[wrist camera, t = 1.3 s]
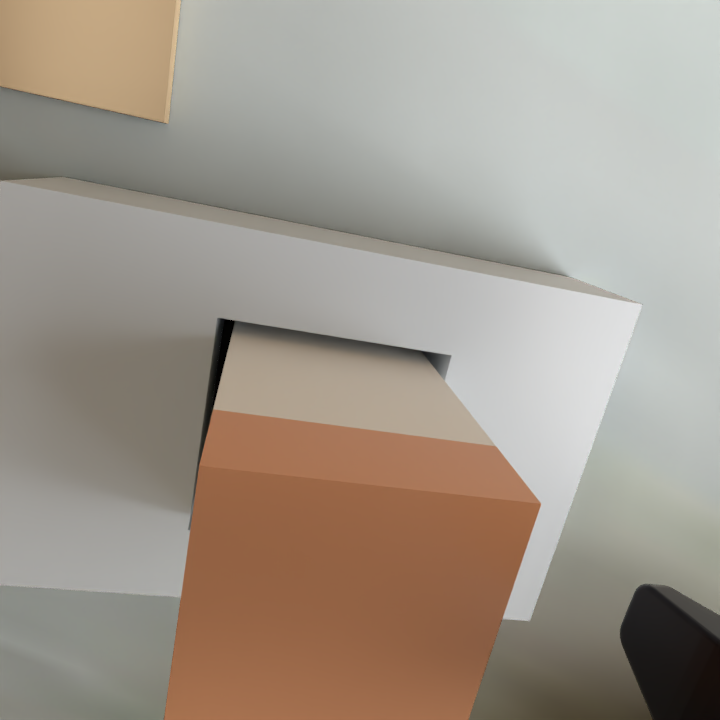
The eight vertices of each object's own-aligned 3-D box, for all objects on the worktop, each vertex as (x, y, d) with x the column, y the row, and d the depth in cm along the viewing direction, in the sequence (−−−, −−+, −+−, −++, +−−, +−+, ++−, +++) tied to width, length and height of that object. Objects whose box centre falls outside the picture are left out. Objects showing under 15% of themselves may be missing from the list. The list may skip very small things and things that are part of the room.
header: (571, 277, 15) (642, 305, 12) (487, 545, 17) (529, 621, 14) (63, 176, 12) (0, 180, 9) (45, 502, 15) (-9, 584, 12)
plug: (402, 327, 14) (541, 504, 7) (368, 468, 16) (457, 751, 8) (240, 299, 14) (199, 465, 6) (218, 450, 15) (160, 746, 7)
